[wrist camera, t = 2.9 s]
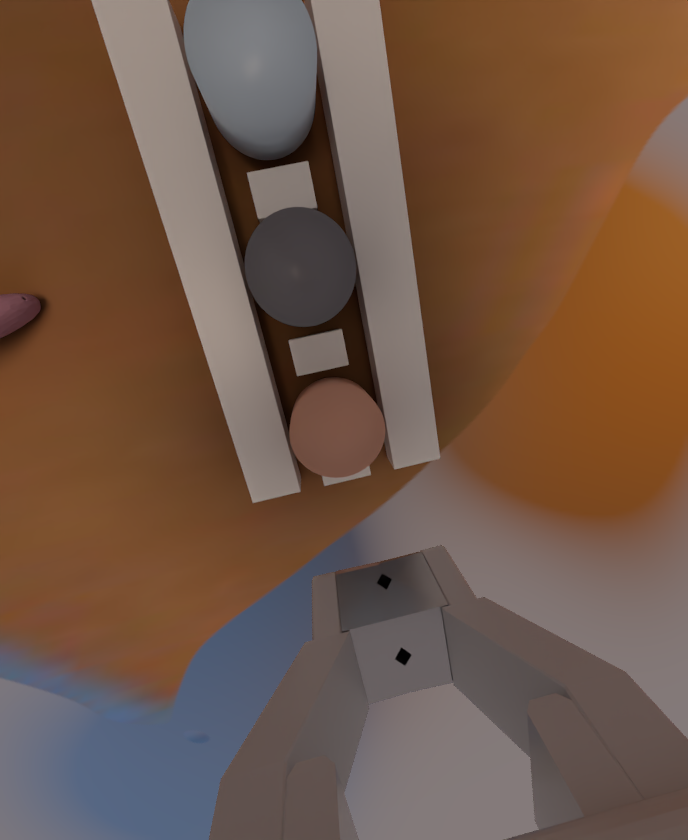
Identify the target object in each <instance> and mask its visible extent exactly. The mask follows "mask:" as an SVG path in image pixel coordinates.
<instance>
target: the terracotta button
mask: <svg viewBox="0 0 688 840" xmlns="http://www.w3.org/2000/svg"><path fill="white" fill-rule="evenodd" d="M289 436H290V443H291V446H292V449H293V452H294V454H295V455H296V457H297V458H298V460H299V461H300V462H301V463H302V464H303V465H304V466H305V467H306V468H307V469H309V470H311V471H312V472H314V473H316V474H319V475H322V476H325V477H333V478H339V477H347V476H350V475H354V474H356V473H358V472H360V471H362V470H364V469H365V468H366V467H368V466H369V465H370V464H371V463H372V462H373V461H374V460H375V458H376V457H377V456H378V454H379V452H380V451H381V448H382V446H383V443H384V439H385V422H384V418H383V415H382V413H381V411H380V409H379V407H378V406H377V404H376V403H375V402H374V401H373V399H372V398H371V397H370V396H369V395H368V394H367V392H366V391H365V390H364V389H363V388H362V387H361V386H359V385H358V384H357V383H355V382H353V381H351V380H348V379H345V378H341V377H327V378H323V379H319V380H317V381H315V382H313V383H311V384H310V385H308V386H307V387H306V388H305V389H304V390H303V391H302V392H301V393H300V394H299V396H298V397H297V399H296V401H295V404H294V406H293V411H292V416H291V422H290V430H289Z"/></svg>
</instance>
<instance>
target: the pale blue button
mask: <svg viewBox="0 0 688 840" xmlns="http://www.w3.org/2000/svg"><path fill="white" fill-rule="evenodd" d="M184 45H185V52H186V56H187V60H188V64H189V67H190V70H191V72H192V74H193V77H194V79H195V81H196V83H197V85H198V88H199V90H200V92H201V94H202V96H203V99H204V101H205V103H206V105H207V107H208V109H209V112H210V114H211V116H212V118H213V120H214V123H215V125H216V126H217V128H218V130H219V131H220V133H221V134H222V136H223V137H224V138H225V139H226V140H227V141H228V143H229V144H230V145H232V146H233V147H234V148H235V149H236V150H238V151H239V152H241V153H243V154H245V155H247V156H249V157H252V158H255V159H259V160H276V159H280V158H283V157H285V156H287V155H289V154H291V153H292V152H294V151H295V150H296V149H297V148H298V147H299V146H300V145H301V144H302V143H303V142H304V140H305V138H306V137H307V135H308V133H309V131H310V129H311V126H312V123H313V119H314V114H315V100H316V74H317V44H316V37H315V32H314V28H313V24H312V21H311V19H310V16H309V13H308V11H307V9H306V7H305V5H304V3H303V2H302V0H189V3H188V5H187V9H186V13H185V20H184Z"/></svg>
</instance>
